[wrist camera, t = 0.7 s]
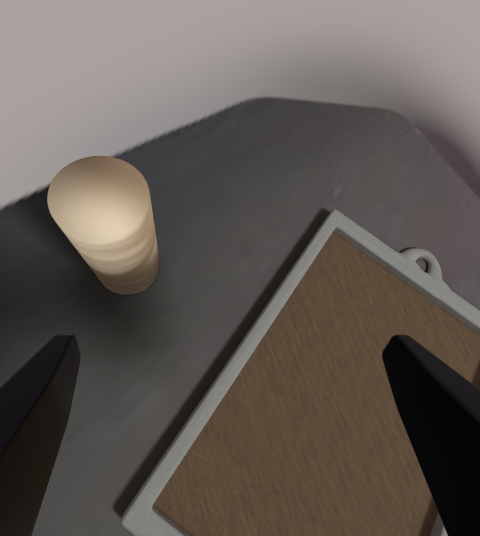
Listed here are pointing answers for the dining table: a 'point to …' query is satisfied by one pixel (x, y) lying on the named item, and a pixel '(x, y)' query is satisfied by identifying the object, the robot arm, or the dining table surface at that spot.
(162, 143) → the dining table surface
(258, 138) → the dining table surface
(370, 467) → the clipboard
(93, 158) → the tan wooden cylinder
